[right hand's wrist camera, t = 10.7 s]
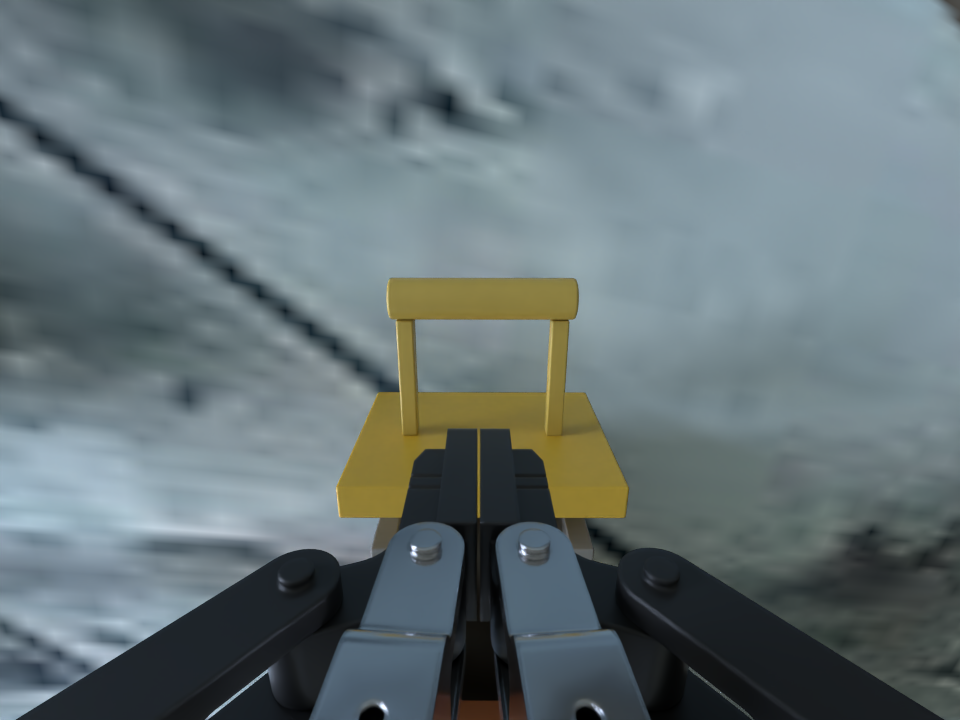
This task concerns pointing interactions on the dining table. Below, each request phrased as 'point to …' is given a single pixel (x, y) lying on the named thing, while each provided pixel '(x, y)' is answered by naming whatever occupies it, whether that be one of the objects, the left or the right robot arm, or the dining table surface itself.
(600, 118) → the dining table surface
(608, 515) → the drawer
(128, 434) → the dining table surface
